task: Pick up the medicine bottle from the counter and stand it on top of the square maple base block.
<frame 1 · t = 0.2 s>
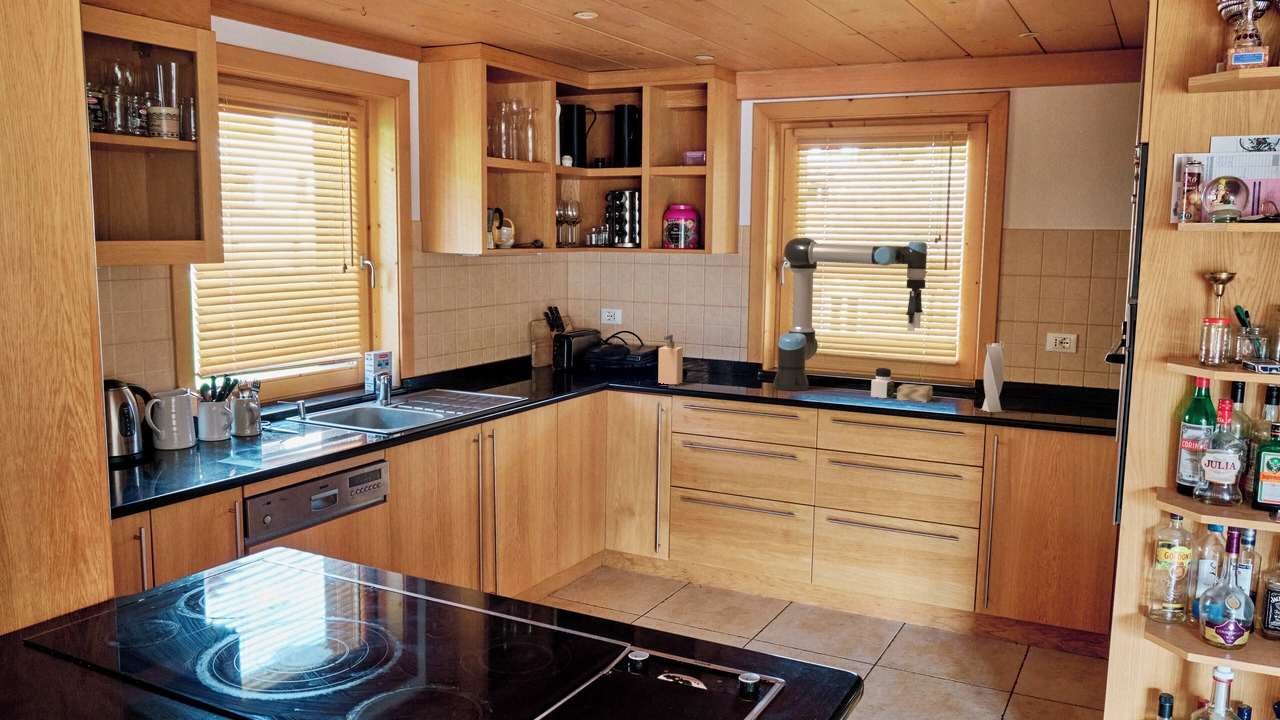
hand: (913, 329, 423), 27 cm above the counter, tool pointing down, fingers open, 13 cm apart
soap dispenser: (668, 385, 441), on the counter
base block: (914, 399, 412), on the counter
skyscraper: (992, 412, 386), on the counter
medicine bottle: (882, 397, 417), on the counter
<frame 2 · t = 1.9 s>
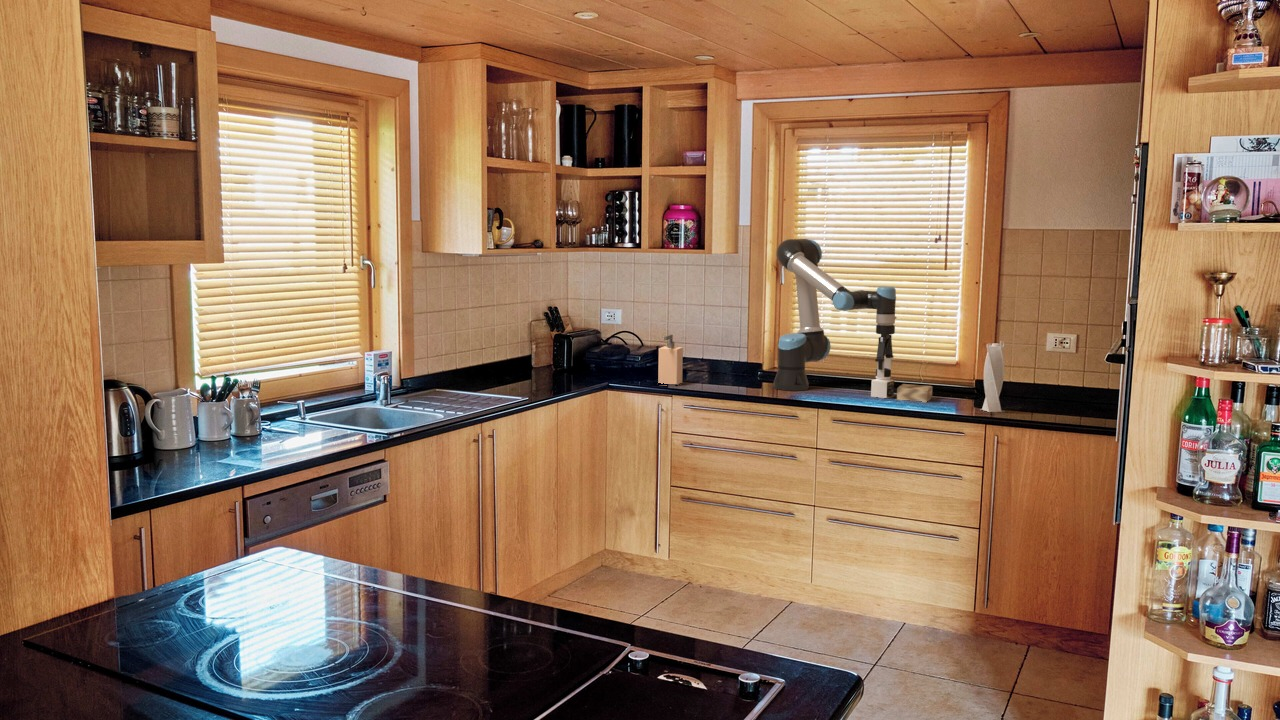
hand: (884, 375, 415), 9 cm above the counter, tool pointing down, fingers open, 13 cm apart
nothing on the counter moved.
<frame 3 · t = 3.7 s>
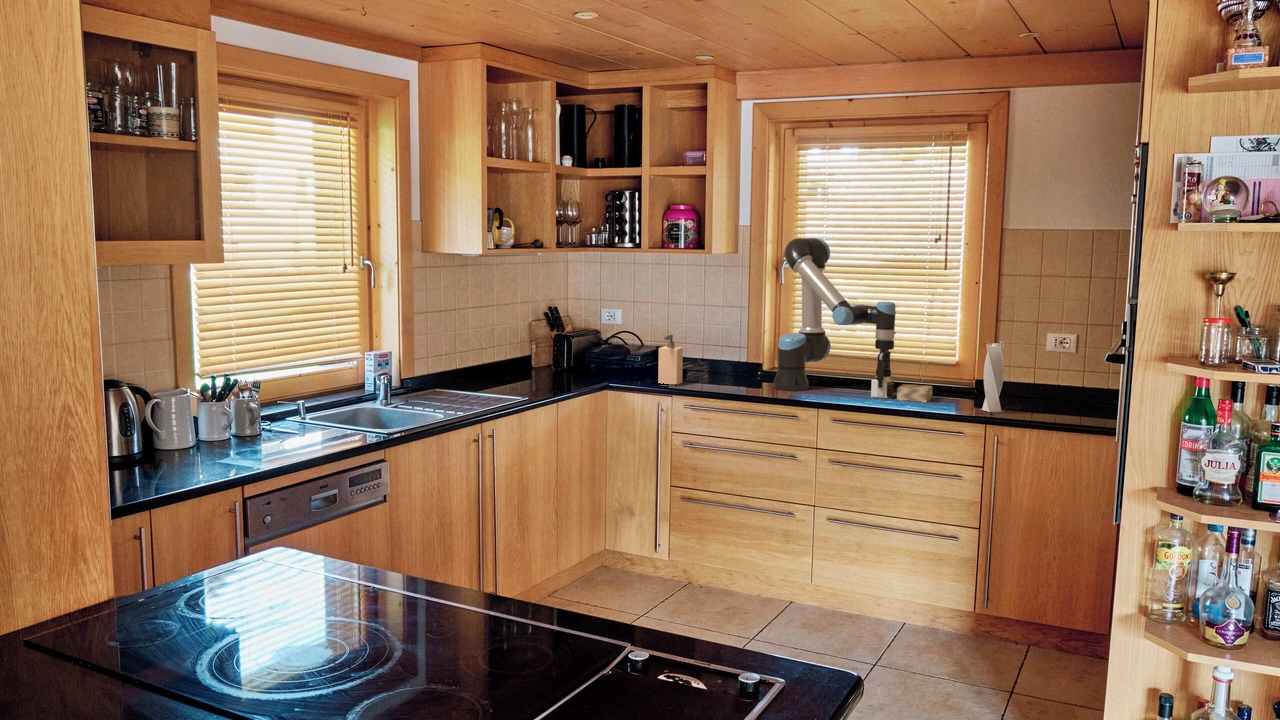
hand: (882, 393, 417), 1 cm above the counter, tool pointing down, fingers closed on medicine bottle, 8 cm apart
medicine bottle: (882, 397, 417), on the counter, touching gripper
everything else where it was.
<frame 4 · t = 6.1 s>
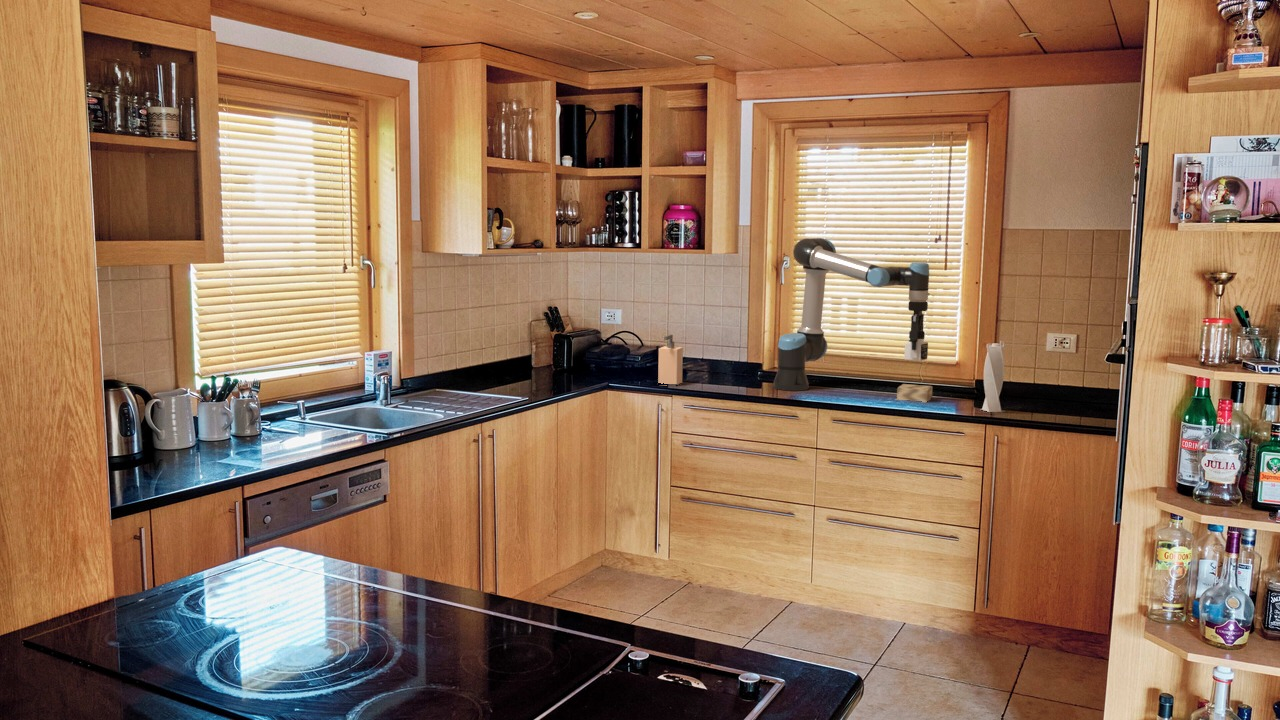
hand: (915, 356, 410), 18 cm above the counter, tool pointing down, fingers closed on medicine bottle, 8 cm apart
medicine bottle: (915, 360, 410), point 16 cm above the counter, touching gripper
everything else where it was.
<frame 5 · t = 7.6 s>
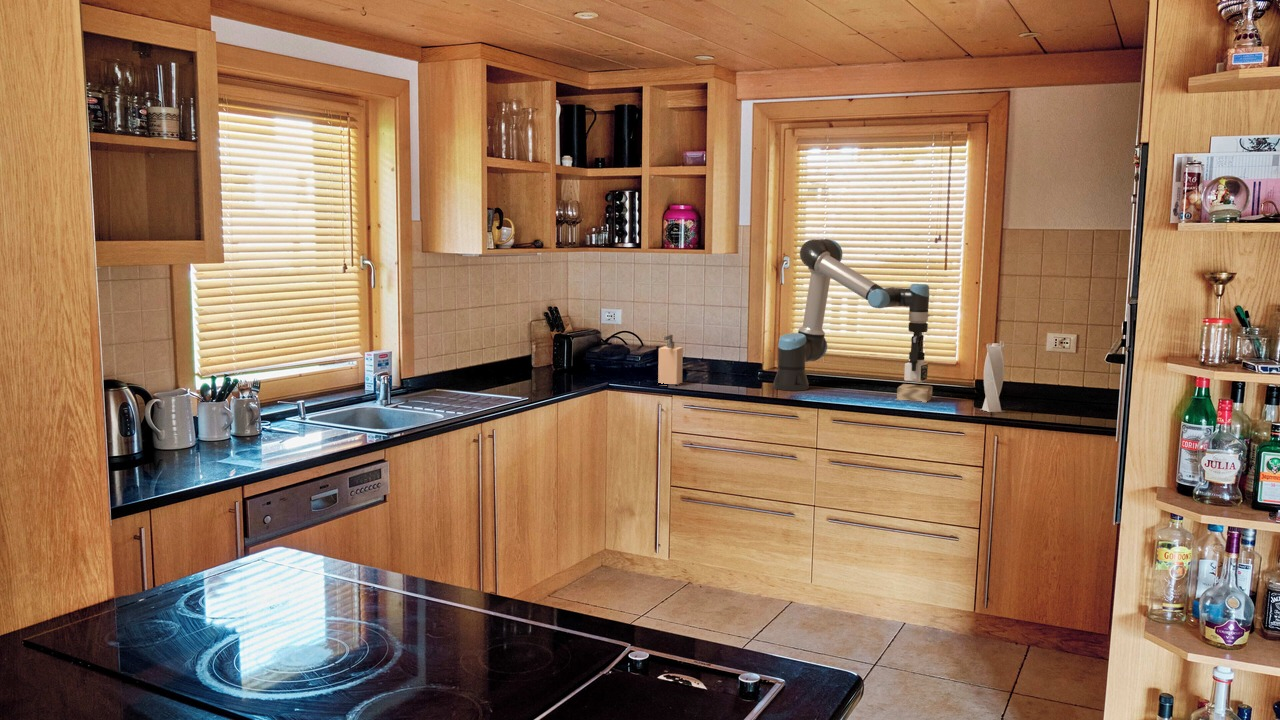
hand: (915, 377, 411), 9 cm above the counter, tool pointing down, fingers closed on medicine bottle, 8 cm apart
medicine bottle: (915, 380, 411), point 8 cm above the counter, touching gripper
everything else where it was.
when the fingers open (8 cm above the counter, at t = 8.7 s): medicine bottle drops 1 cm, resting on base block.
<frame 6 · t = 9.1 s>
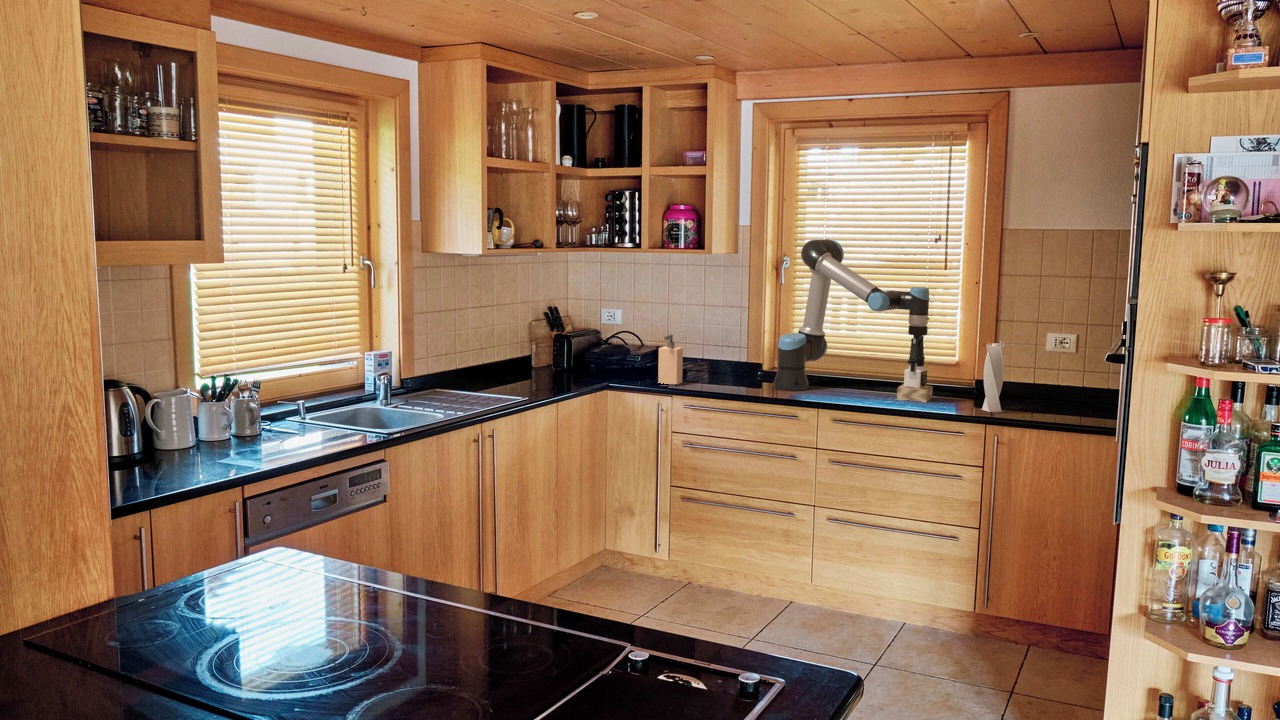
hand: (915, 377, 411), 9 cm above the counter, tool pointing down, fingers open, 13 cm apart
medicine bottle: (915, 387, 412), point 5 cm above the counter, touching base block
everything else where it was.
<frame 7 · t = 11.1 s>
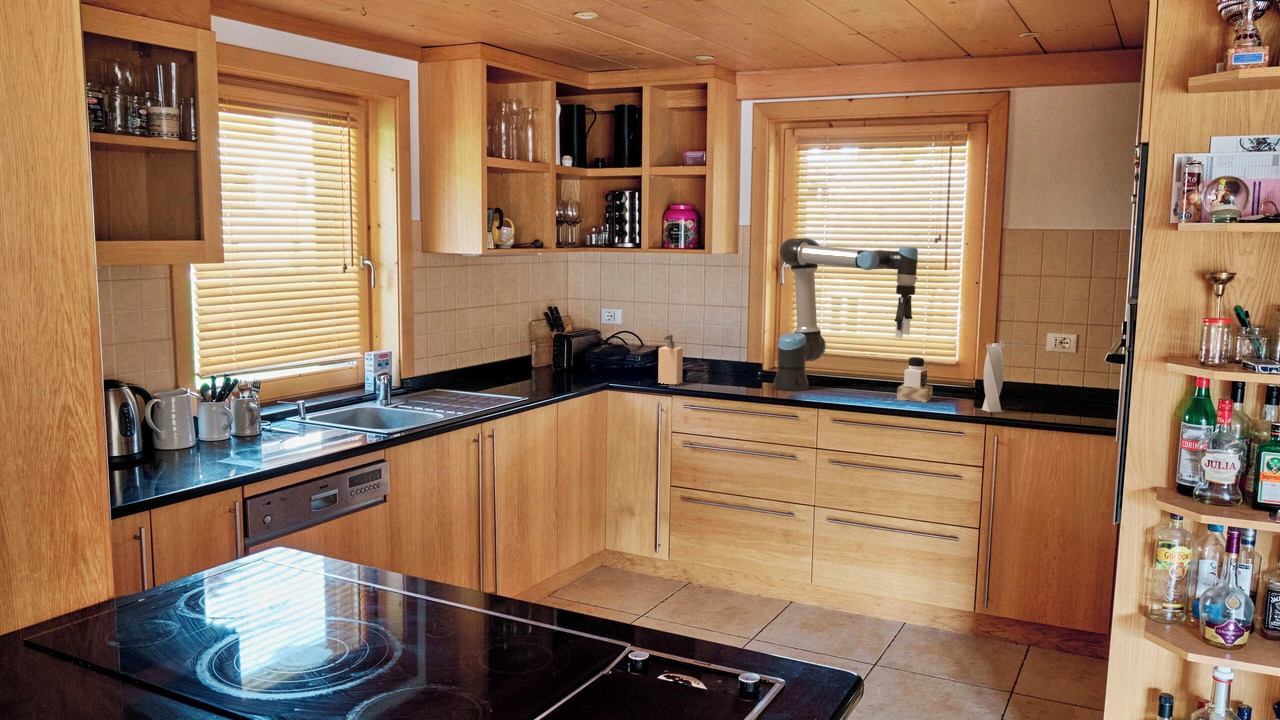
hand: (902, 336, 415), 25 cm above the counter, tool pointing down, fingers open, 13 cm apart
nothing on the counter moved.
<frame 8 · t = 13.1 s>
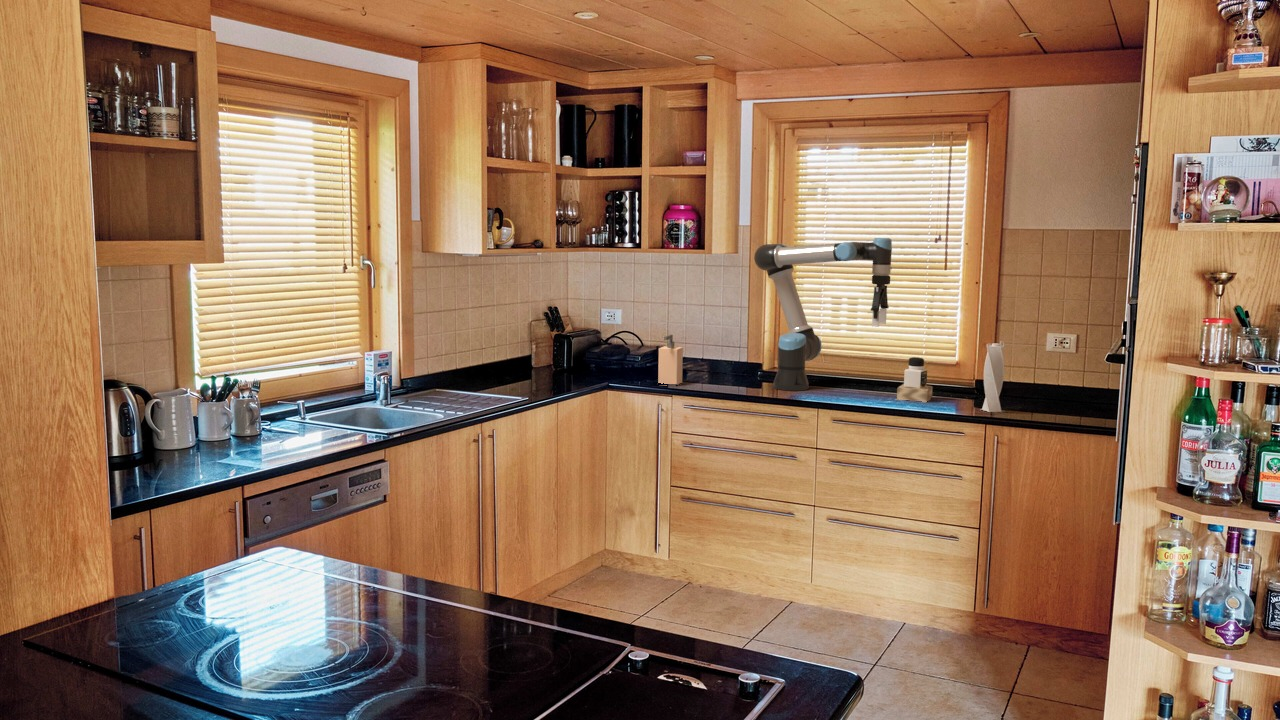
hand: (879, 325, 425), 29 cm above the counter, tool pointing down, fingers open, 13 cm apart
nothing on the counter moved.
at the end: medicine bottle 0.1 cm from the base block (horizontally); medicine bottle point 4.9 cm above the counter; medicine bottle tilted 0° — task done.
